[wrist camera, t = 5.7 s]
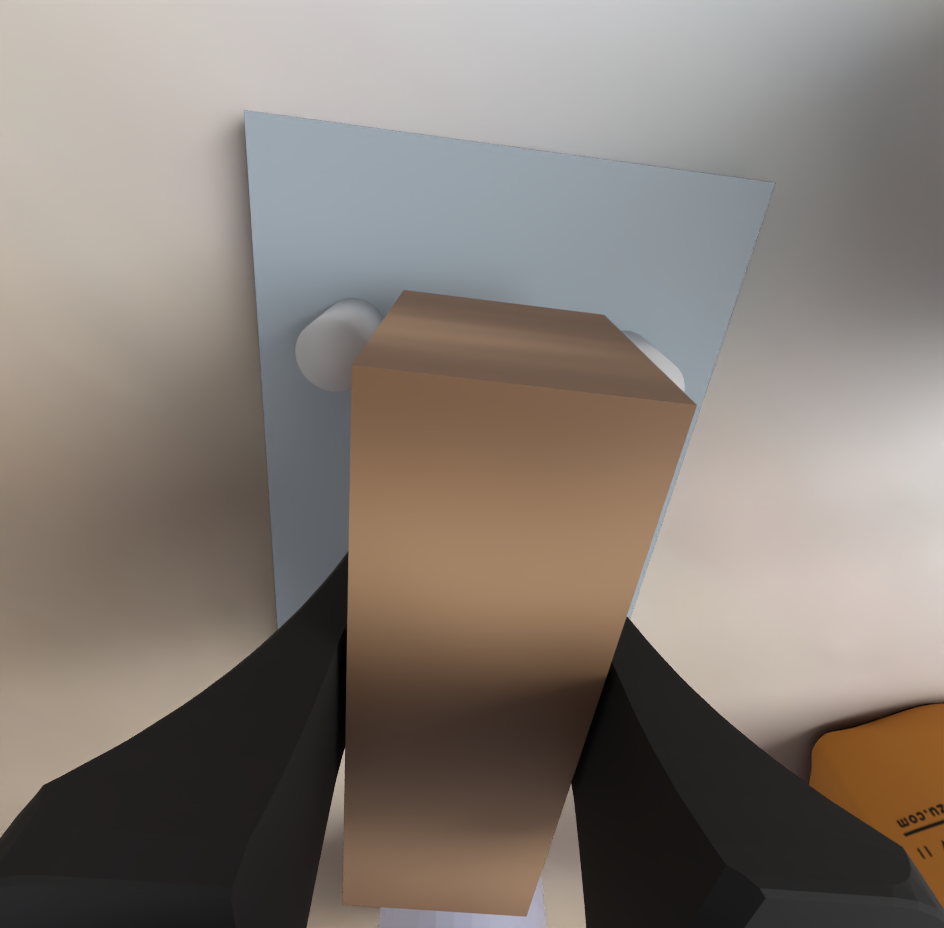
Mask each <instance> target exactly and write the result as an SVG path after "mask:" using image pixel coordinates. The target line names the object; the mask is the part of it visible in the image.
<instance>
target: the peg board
mask: <svg viewBox="0 0 944 928" xmlns="http://www.w3.org/2000/svg"><path fill="white" fill-rule="evenodd" d="M244 120H245V135H246V150H247V166H248V181H249V197H250V212H251V227H252V243H253V258H254V274H255V289H256V304H257V320H258V335H259V350H260V366H261V381H262V397H263V412H264V427H265V443H266V458H267V474H268V489H269V504H270V520H271V535H272V550H273V566H274V581H275V597H276V612H277V627H278V629H279V628H280V627H281V626H282V625H283V624H284V623H285V622H286V621H287V620H288V619H289V618H290V617H291V616H292V615H293V614H294V613H296V612H297V610H298V609H299V608H300V607H301V606H302V605H303V604H304V603H305V602H306V601H307V600H308V599H309V598H310V597H311V595H312V594H313V593H314V592H315V591H316V590H317V589H318V588H319V587H320V586H321V584H322V583H323V582H324V581H325V580H326V579H327V577H328V576H329V575H330V574H331V573H332V571H333V570H334V569H335V568H336V567H337V565H338V564H339V563H340V561H341V560H342V559H343V557H344V556H345V555H346V553H347V552H348V551H349V495H350V435H351V375H352V364H353V362H354V361H355V359H356V358H357V357H358V355H359V354H360V352H361V351H362V349H363V348H364V346H365V345H366V344H367V342H368V341H369V339H370V338H371V336H372V335H373V333H374V332H375V331H376V329H377V328H378V326H379V325H380V323H381V322H382V320H383V319H384V318H385V316H386V315H387V313H388V312H389V310H390V309H391V307H392V306H393V305H394V303H395V302H396V300H397V299H398V297H399V296H400V295H401V293H402V292H403V290H409V291H417V292H425V293H433V294H441V295H449V296H457V297H465V298H473V299H481V300H489V301H497V302H506V303H514V304H522V305H530V306H538V307H546V308H554V309H562V310H570V311H578V312H586V313H594V314H602V315H605V316H606V317H607V318H608V319H609V320H610V321H611V322H612V323H613V324H614V325H615V326H616V327H617V328H618V329H619V330H620V331H621V332H622V333H623V334H624V335H625V336H627V337H628V338H629V339H630V340H631V341H632V342H633V343H634V344H635V345H636V346H637V347H638V348H639V349H640V350H641V351H642V352H643V353H644V354H645V355H646V356H647V357H648V358H649V359H650V360H651V361H652V362H653V363H654V364H655V365H656V366H657V367H658V368H659V369H661V370H662V371H663V372H664V373H665V374H666V375H667V376H668V377H669V378H670V379H671V380H672V381H673V382H674V383H675V384H676V385H677V386H678V387H679V388H680V389H681V390H682V391H683V392H684V393H685V394H686V395H687V396H688V397H689V398H690V399H691V400H692V401H693V402H694V403H696V404H697V407H696V410H695V413H694V416H693V419H692V422H691V425H690V428H689V431H688V434H687V437H686V440H685V443H684V446H683V449H682V452H681V455H680V458H679V461H678V464H677V467H676V470H675V473H674V476H673V479H672V482H671V485H670V488H669V491H668V494H667V497H666V500H665V503H664V506H663V509H662V512H661V515H660V518H659V521H658V524H657V527H656V530H655V533H654V536H653V539H652V542H651V545H650V548H649V551H648V554H647V557H646V560H645V563H644V566H643V569H642V572H641V575H640V578H639V581H638V584H637V587H636V590H635V593H634V596H633V599H632V602H631V605H630V608H629V611H628V614H627V617H628V618H629V619H630V618H631V615H632V612H633V609H634V606H635V603H636V600H637V597H638V594H639V591H640V588H641V585H642V582H643V579H644V576H645V573H646V570H647V567H648V564H649V561H650V558H651V555H652V552H653V549H654V546H655V543H656V540H657V537H658V534H659V531H660V528H661V525H662V522H663V519H664V516H665V513H666V510H667V507H668V504H669V501H670V498H671V495H672V492H673V489H674V486H675V483H676V480H677V477H678V474H679V471H680V468H681V465H682V462H683V459H684V456H685V453H686V450H687V447H688V444H689V441H690V438H691V435H692V432H693V429H694V426H695V423H696V420H697V417H698V414H699V411H700V408H701V405H702V402H703V399H704V396H705V393H706V390H707V387H708V384H709V381H710V378H711V375H712V372H713V369H714V366H715V363H716V360H717V357H718V354H719V351H720V348H721V345H722V342H723V339H724V336H725V333H726V330H727V327H728V324H729V321H730V318H731V315H732V312H733V309H734V306H735V303H736V300H737V297H738V294H739V291H740V288H741V285H742V282H743V279H744V276H745V273H746V270H747V267H748V264H749V261H750V258H751V255H752V252H753V249H754V246H755V243H756V240H757V237H758V234H759V231H760V228H761V225H762V222H763V219H764V216H765V213H766V210H767V207H768V204H769V201H770V198H771V195H772V192H773V189H774V186H775V183H774V182H767V181H760V180H752V179H745V178H738V177H730V176H723V175H716V174H708V173H701V172H694V171H686V170H679V169H672V168H664V167H657V166H650V165H643V164H635V163H628V162H621V161H613V160H606V159H599V158H591V157H584V156H577V155H569V154H562V153H555V152H547V151H540V150H533V149H525V148H518V147H511V146H503V145H496V144H489V143H481V142H474V141H467V140H459V139H452V138H445V137H438V136H430V135H423V134H416V133H408V132H401V131H394V130H386V129H379V128H372V127H364V126H357V125H350V124H342V123H335V122H328V121H320V120H313V119H306V118H298V117H291V116H284V115H276V114H269V113H262V112H255V111H247V110H244Z"/></svg>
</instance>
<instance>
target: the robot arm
mask: <svg viewBox="0 0 944 928" xmlns="http://www.w3.org/2000/svg"><path fill="white" fill-rule="evenodd" d="M348 555H349V551H348V552H347V553H346V555H345V556H344V557H343V559H342V560H341V561H340V563H339V564H338V565H337V567H336V568H335V569H334V570H333V571H332V573H331V574H330V575H329V576H328V577H327V579H326V580H325V581H324V582H323V583H322V584H321V586H320V587H319V588H318V589H317V590H316V591H315V592H314V593H313V594H312V595H311V597H310V598H309V599H308V600H307V601H306V602H305V603H304V604H303V605H302V606H301V607H300V608H299V609H298V610H297V612H296V613H294V614H293V615H292V616H291V617H290V618H289V619H288V620H287V621H286V622H285V623H284V624H283V625H282V626H281V627H280V628H279V629H278V630H277V631H276V632H275V633H274V634H273V635H272V636H271V637H270V638H269V639H267V640H266V641H265V642H264V643H263V644H262V645H261V646H260V647H258V648H257V649H256V650H255V651H254V652H253V653H251V654H250V655H249V656H248V657H247V658H245V659H244V660H243V661H242V662H241V663H239V664H238V665H237V666H236V667H234V668H233V669H232V670H231V671H229V672H228V673H227V674H225V675H224V676H223V677H221V678H220V679H219V680H217V681H216V682H215V683H213V684H212V685H211V686H209V687H208V688H207V689H205V690H204V691H203V692H201V693H200V694H198V695H197V696H196V697H194V698H193V699H191V700H190V701H188V702H187V703H185V704H184V705H183V706H181V707H180V708H178V709H176V710H175V711H173V712H172V713H170V714H168V715H167V716H165V717H164V718H162V719H161V720H159V721H157V722H156V723H154V724H153V725H151V726H150V727H148V728H146V729H145V730H143V731H142V732H140V733H139V734H137V735H135V736H134V737H132V738H130V739H129V740H127V741H125V742H123V743H122V744H120V745H118V746H117V747H115V748H113V749H111V750H109V751H107V752H106V753H104V754H102V755H100V756H98V757H96V758H94V759H92V760H91V761H89V762H87V763H85V764H83V765H81V766H79V767H78V768H76V769H74V770H72V771H70V772H68V773H66V774H65V775H63V776H61V777H59V778H57V779H55V780H53V781H51V782H49V783H47V784H45V785H43V786H42V788H41V789H40V790H39V791H38V793H37V794H36V795H35V796H34V798H33V799H32V800H31V801H30V802H29V803H28V804H27V805H26V807H25V808H24V809H23V810H22V811H21V812H20V813H19V815H18V816H17V817H16V818H15V820H14V821H13V822H12V823H11V825H10V826H9V827H8V829H7V830H6V831H5V832H4V834H3V835H2V837H1V838H0V928H306V927H307V922H308V916H309V911H310V906H311V901H312V896H313V890H314V885H315V880H316V875H317V870H318V865H319V860H320V855H321V850H322V845H323V840H324V835H325V830H326V826H327V821H328V816H329V811H330V806H331V801H332V797H333V792H334V787H335V782H336V778H337V774H338V770H339V767H340V763H341V759H342V756H343V752H344V749H345V735H346V675H347V615H348ZM571 784H572V790H573V796H574V803H575V813H576V822H577V831H578V841H579V850H580V861H581V872H582V882H583V893H584V904H585V917H586V928H944V908H943V907H942V905H941V904H940V902H939V901H938V899H937V898H936V896H935V895H934V893H933V892H932V890H931V889H930V887H929V885H928V884H927V882H926V881H925V879H924V878H923V876H922V875H921V873H920V872H919V870H918V869H917V867H916V866H915V864H914V863H913V861H912V859H911V858H910V857H909V855H908V854H907V852H906V851H905V850H904V848H903V847H902V846H901V845H899V844H897V843H896V842H894V841H893V840H891V839H890V838H888V837H887V836H885V835H883V834H882V833H880V832H879V831H877V830H876V829H874V828H873V827H871V826H869V825H868V824H866V823H865V822H863V821H862V820H860V819H859V818H857V817H855V816H854V815H852V814H851V813H849V812H848V811H846V810H845V809H843V808H842V807H840V806H838V805H837V804H835V803H834V802H832V801H831V800H829V799H828V798H827V797H825V796H824V795H822V794H821V793H820V792H818V791H817V790H815V789H814V788H813V787H811V786H810V785H808V784H807V783H806V782H804V781H803V780H801V779H800V778H799V777H797V776H796V775H794V774H793V773H792V772H790V771H789V770H788V769H786V768H785V767H784V766H782V765H781V764H780V763H778V762H777V761H776V760H775V759H773V758H772V757H771V756H769V755H768V754H767V753H765V752H764V751H763V750H762V749H761V748H759V747H758V746H757V745H756V744H754V743H753V742H752V741H751V740H750V739H748V738H747V737H746V736H745V735H743V734H742V733H741V732H740V731H739V730H737V729H736V728H735V727H734V726H733V725H731V724H730V723H729V722H728V721H727V720H726V719H725V718H723V717H722V716H721V715H720V714H719V713H718V712H717V711H716V710H715V709H713V708H712V707H711V706H710V705H709V704H708V703H707V702H706V701H705V700H704V699H703V698H702V697H701V696H700V695H699V694H697V693H696V692H695V691H694V690H693V689H692V688H691V687H690V686H689V685H688V684H687V683H686V682H685V681H684V680H683V679H682V678H681V677H680V676H679V675H678V674H677V673H676V672H675V671H674V669H673V668H672V667H671V666H670V665H669V664H668V663H667V662H666V661H665V660H664V659H663V658H662V657H661V655H660V654H659V653H658V652H657V651H656V650H655V649H654V648H653V647H652V645H651V644H650V643H649V642H648V641H647V640H646V639H645V637H644V636H643V635H642V634H641V633H640V631H639V630H638V629H637V628H636V627H635V625H634V624H633V623H632V622H631V620H630V619H629V618H628V617H626V620H625V623H624V626H623V629H622V632H621V635H620V638H619V641H618V644H617V647H616V650H615V653H614V656H613V659H612V662H611V665H610V668H609V671H608V674H607V677H606V680H605V683H604V686H603V689H602V692H601V695H600V698H599V701H598V704H597V707H596V710H595V713H594V716H593V719H592V722H591V725H590V728H589V731H588V734H587V737H586V740H585V743H584V746H583V749H582V752H581V755H580V758H579V761H578V764H577V767H576V770H575V773H574V776H573V779H572V782H571ZM378 928H547V926H546V916H545V905H544V895H543V885H542V875H540V878H539V881H538V884H537V887H536V890H535V893H534V896H533V899H532V902H531V905H530V908H529V911H528V914H527V917H523V916H508V915H492V914H477V913H461V912H446V911H430V910H414V909H399V908H383V907H380V913H379V921H378Z"/></svg>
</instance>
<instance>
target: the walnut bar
mask: <svg viewBox="0 0 944 928" xmlns="http://www.w3.org/2000/svg"><path fill="white" fill-rule="evenodd" d="M696 407H697V404H696V403H694V402H693V401H692V400H691V399H690V398H689V397H688V396H687V395H686V394H685V393H684V392H683V391H682V390H681V389H680V388H679V387H678V386H677V385H676V384H675V383H674V382H673V381H672V380H671V379H670V378H669V377H668V376H667V375H666V374H665V373H664V372H663V371H662V370H661V369H659V368H658V367H657V366H656V365H655V364H654V363H653V362H652V361H651V360H650V359H649V358H648V357H647V356H646V355H645V354H644V353H643V352H642V351H641V350H640V349H639V348H638V347H637V346H636V345H635V344H634V343H633V342H632V341H631V340H630V339H629V338H628V337H627V336H625V335H624V334H623V333H622V332H621V331H620V330H619V329H618V328H617V327H616V326H615V325H614V324H613V323H612V322H611V321H610V320H609V319H608V318H607V317H606V316H605V315H602V314H594V313H586V312H578V311H570V310H562V309H554V308H546V307H538V306H530V305H522V304H514V303H506V302H497V301H489V300H481V299H473V298H465V297H457V296H449V295H441V294H433V293H425V292H417V291H409V290H403V292H402V293H401V295H400V296H399V297H398V299H397V300H396V302H395V303H394V305H393V306H392V307H391V309H390V310H389V312H388V313H387V315H386V316H385V318H384V319H383V320H382V322H381V323H380V325H379V326H378V328H377V329H376V331H375V332H374V333H373V335H372V336H371V338H370V339H369V341H368V342H367V344H366V345H365V346H364V348H363V349H362V351H361V352H360V354H359V355H358V357H357V358H356V359H355V361H354V362H353V364H352V375H351V435H350V495H349V555H348V615H347V675H346V735H345V794H344V854H343V905H352V906H368V907H383V908H399V909H414V910H430V911H446V912H461V913H477V914H492V915H508V916H523V917H527V914H528V911H529V908H530V905H531V902H532V899H533V896H534V893H535V890H536V887H537V884H538V881H539V878H540V875H541V872H542V869H543V866H544V863H545V860H546V857H547V854H548V851H549V848H550V845H551V842H552V839H553V836H554V833H555V830H556V827H557V824H558V821H559V818H560V815H561V812H562V809H563V806H564V803H565V800H566V797H567V794H568V791H569V788H570V785H571V782H572V779H573V776H574V773H575V770H576V767H577V764H578V761H579V758H580V755H581V752H582V749H583V746H584V743H585V740H586V737H587V734H588V731H589V728H590V725H591V722H592V719H593V716H594V713H595V710H596V707H597V704H598V701H599V698H600V695H601V692H602V689H603V686H604V683H605V680H606V677H607V674H608V671H609V668H610V665H611V662H612V659H613V656H614V653H615V650H616V647H617V644H618V641H619V638H620V635H621V632H622V629H623V626H624V623H625V620H626V617H627V614H628V611H629V608H630V605H631V602H632V599H633V596H634V593H635V590H636V587H637V584H638V581H639V578H640V575H641V572H642V569H643V566H644V563H645V560H646V557H647V554H648V551H649V548H650V545H651V542H652V539H653V536H654V533H655V530H656V527H657V524H658V521H659V518H660V515H661V512H662V509H663V506H664V503H665V500H666V497H667V494H668V491H669V488H670V485H671V482H672V479H673V476H674V473H675V470H676V467H677V464H678V461H679V458H680V455H681V452H682V449H683V446H684V443H685V440H686V437H687V434H688V431H689V428H690V425H691V422H692V419H693V416H694V413H695V410H696Z"/></svg>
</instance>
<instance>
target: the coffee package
mask: <svg viewBox="0 0 944 928" xmlns="http://www.w3.org/2000/svg"><path fill="white" fill-rule="evenodd" d="M809 785H810V786H811V787H813V788H814V789H815V790H817V791H818V792H820V793H821V794H822V795H824V796H825V797H827V798H828V799H829V800H831V801H832V802H834V803H835V804H837V805H838V806H840V807H842V808H843V809H845V810H846V811H848V812H849V813H851V814H852V815H854V816H855V817H857V818H859V819H860V820H862V821H863V822H865V823H866V824H868V825H869V826H871V827H873V828H874V829H876V830H877V831H879V832H880V833H882V834H883V835H885V836H887V837H888V838H890V839H891V840H893V841H894V842H896V843H897V844H899V845H901V846H902V847H903V848H904V850H905V851H906V852H907V854H908V855H909V857H910V858H911V859H912V861H913V863H914V864H915V866H916V867H917V869H918V870H919V872H920V873H921V875H922V876H923V878H924V879H925V881H926V882H927V884H928V885H929V887H930V889H931V890H932V892H933V893H934V895H935V896H936V898H937V899H938V901H939V902H940V904H941V905H942V907H943V908H944V704H932V705H925V706H920V707H916V708H913V709H909V710H905V711H902V712H900V713H897V714H894V715H891V716H888V717H885V718H882V719H879V720H876V721H872V722H869V723H866V724H863V725H860V726H857V727H854V728H851V729H845V730H840V731H834V732H829V733H826V734H824V735H823V736H822V737H821V738H819V740H818V741H817V742H816V744H815V746H814V747H813V749H812V768H811V775H810V780H809Z"/></svg>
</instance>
